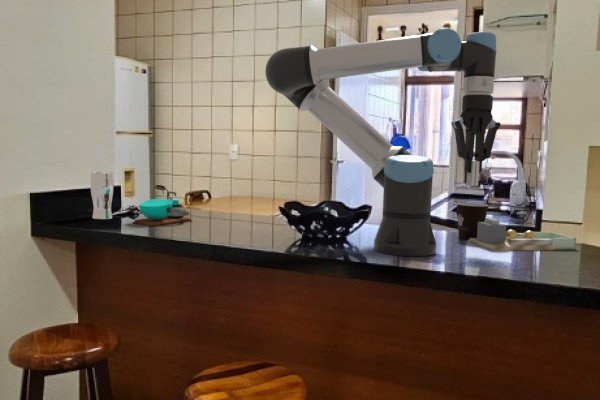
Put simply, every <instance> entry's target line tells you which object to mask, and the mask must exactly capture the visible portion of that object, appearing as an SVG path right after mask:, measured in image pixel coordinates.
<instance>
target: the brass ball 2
mask: <svg viewBox="0 0 600 400" xmlns="http://www.w3.org/2000/svg"><path fill="white" fill-rule="evenodd" d="M534 232H535V231H534V230H533V231H532V230H526V231H524V232H523V233H524V235H523V238H524V239H536V234H535V233H534Z"/></svg>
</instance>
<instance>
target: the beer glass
mask: <svg viewBox="0 0 600 400" xmlns="http://www.w3.org/2000/svg"><path fill="white" fill-rule="evenodd" d="M113 174H114V173H113V172H112V171H94V172H93V171H91V172H90V195H91V199H92V204H93V205H92V206H93V211H92V212H93V213H92V219H94V220H110V219H112V218H113V213H112V202H113V195H114V188H115V187H114V175H113Z"/></svg>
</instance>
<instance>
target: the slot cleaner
mask: <svg viewBox="0 0 600 400" xmlns="http://www.w3.org/2000/svg"><path fill="white" fill-rule="evenodd" d="M506 231H507V225H506V224H504V223H500V220H499V219H496V218H493V217H486V218H485V222H478V229H477V240H478V241H481V242H483V243H486V244H505V237H506Z"/></svg>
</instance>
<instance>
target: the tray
mask: <svg viewBox="0 0 600 400" xmlns="http://www.w3.org/2000/svg"><path fill="white" fill-rule="evenodd" d="M533 232H534V233H535V234H536V239H553V244H552V245H554V246H555V250H576V246H577V237H572V236H569V235H565V234H561V233H557V232H553V231H533Z"/></svg>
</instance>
